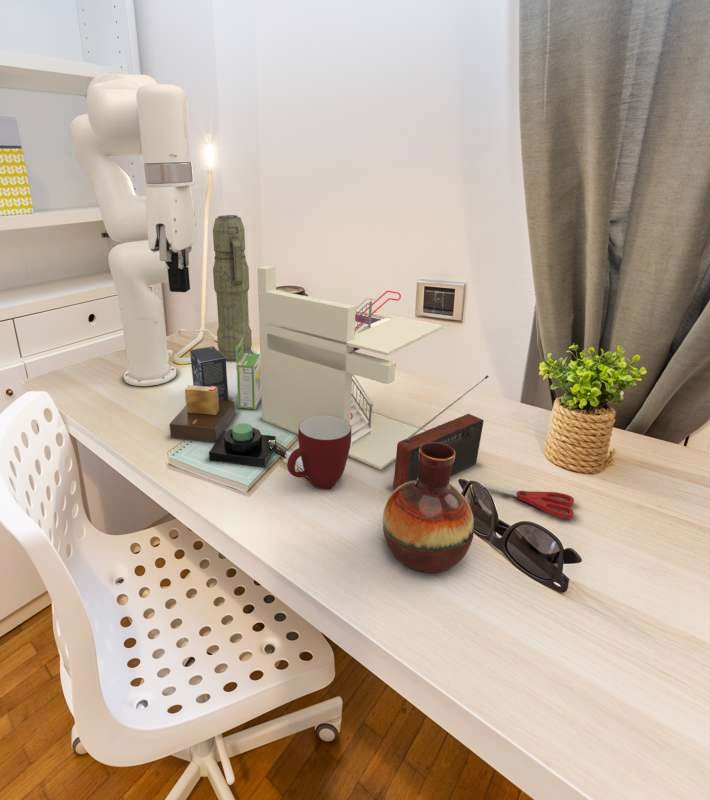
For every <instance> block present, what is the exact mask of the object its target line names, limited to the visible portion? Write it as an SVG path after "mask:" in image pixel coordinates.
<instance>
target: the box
mask: <svg viewBox="0 0 710 800" xmlns="http://www.w3.org/2000/svg"><path fill="white" fill-rule="evenodd" d="M189 354H190V363H191V364H190V366H191V375H192V376H191V377H192V385H193V386H205V387H211V386H216V387H217V388H218V399H219V400H228V401H230V400H229V389H228V373H227V372H228V371H227V360H226V357H224V356H223V355H222V354H221V353H220V352H219V349H217V348H216V347H215V346H207V347H201V348H195V349H194V348H193V349H190V350H189Z"/></svg>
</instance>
